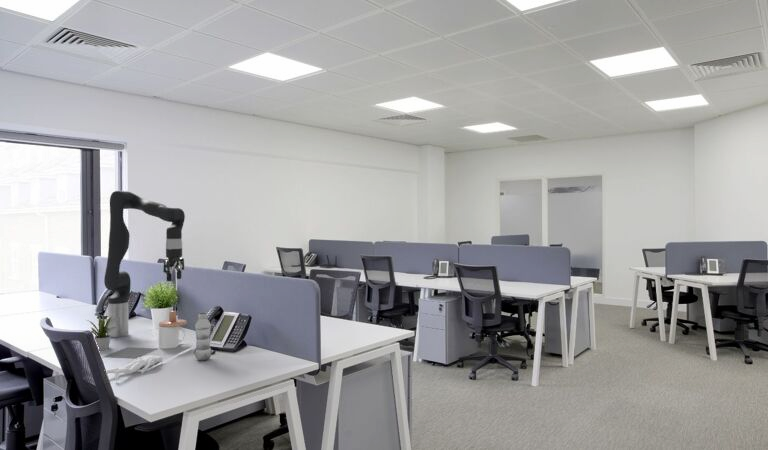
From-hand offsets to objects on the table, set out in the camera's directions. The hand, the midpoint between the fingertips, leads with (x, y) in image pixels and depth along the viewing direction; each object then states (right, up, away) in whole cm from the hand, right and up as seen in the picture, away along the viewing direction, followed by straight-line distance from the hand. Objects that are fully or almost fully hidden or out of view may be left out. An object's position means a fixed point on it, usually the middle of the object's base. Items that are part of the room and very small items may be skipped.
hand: (174, 280), depth 239 cm
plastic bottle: (+27, -31, -34) cm, 53 cm away
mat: (-8, -30, -26) cm, 41 cm away
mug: (+5, -31, -14) cm, 34 cm away
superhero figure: (+7, -31, -50) cm, 59 cm away
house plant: (-24, -31, -18) cm, 43 cm away
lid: (+5, -20, -13) cm, 24 cm away
